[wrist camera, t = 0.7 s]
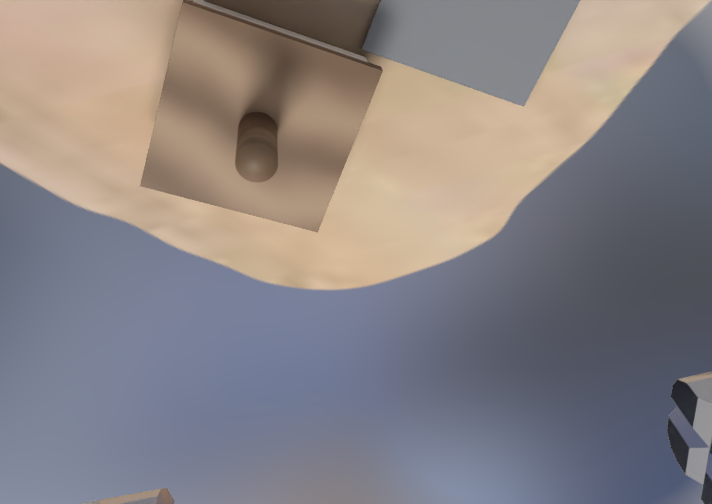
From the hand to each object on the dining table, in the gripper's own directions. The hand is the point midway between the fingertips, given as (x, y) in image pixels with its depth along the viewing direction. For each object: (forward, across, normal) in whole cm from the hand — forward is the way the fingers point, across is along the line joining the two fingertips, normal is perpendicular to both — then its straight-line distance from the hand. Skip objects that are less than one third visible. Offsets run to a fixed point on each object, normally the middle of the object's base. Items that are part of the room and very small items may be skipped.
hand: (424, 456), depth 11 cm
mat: (+39, -12, +3) cm, 41 cm away
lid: (+36, +5, +8) cm, 38 cm away
